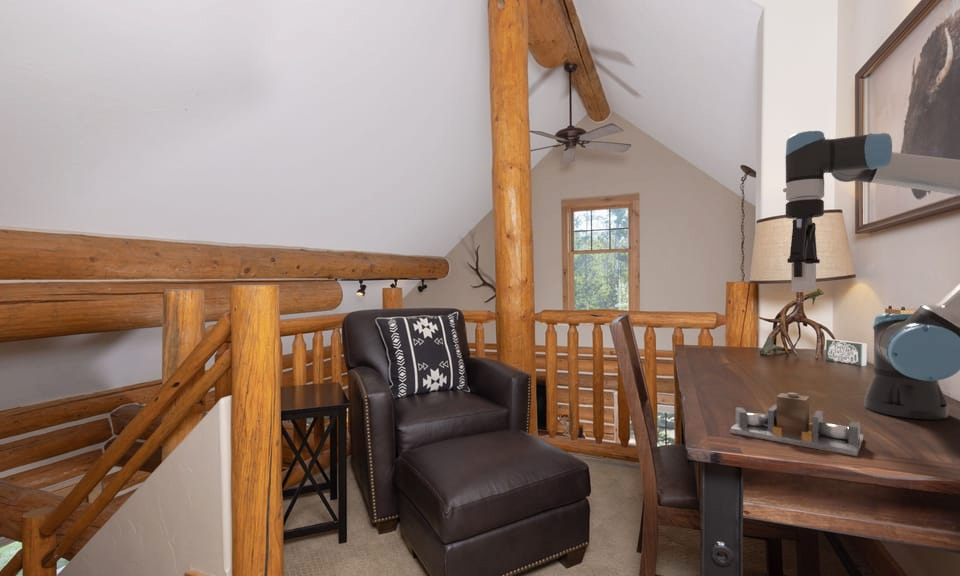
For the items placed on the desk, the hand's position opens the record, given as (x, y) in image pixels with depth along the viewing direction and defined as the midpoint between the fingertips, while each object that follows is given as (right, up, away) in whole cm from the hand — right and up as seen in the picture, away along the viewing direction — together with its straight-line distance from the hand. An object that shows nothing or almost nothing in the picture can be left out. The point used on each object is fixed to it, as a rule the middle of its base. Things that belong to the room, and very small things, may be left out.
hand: (804, 291), depth 117 cm
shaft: (-19, -28, -12) cm, 36 cm away
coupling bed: (-12, -29, -16) cm, 36 cm away
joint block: (-13, -28, -16) cm, 35 cm away
